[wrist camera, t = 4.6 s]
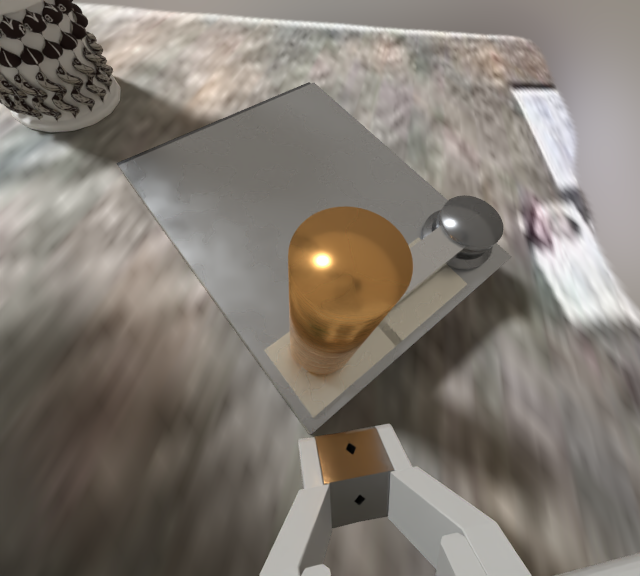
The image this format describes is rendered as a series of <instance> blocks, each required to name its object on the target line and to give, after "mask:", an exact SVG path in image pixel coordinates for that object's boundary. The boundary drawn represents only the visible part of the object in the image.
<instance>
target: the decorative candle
mask: <svg viewBox="0 0 640 576" xmlns="http://www.w3.org/2000/svg"><path fill="white" fill-rule="evenodd" d="M72 1H73V0H0V103H1V104H4V105H5V106H6V107H7V108H8V109H10V111H11V113H12V116H13V117H14V118H15V119H16V120H17V121H19V122H20V123H22V124H24V125H25V126H27V127H28V128H30V129H34V130H40V131H45V132H50V133H53V132H67V131H75V130H78V129H81V128H85V127H88V126H91V125H94V124H96V123H98V122H99V121H101V120H102V119H104V118H105V117H107V116H108V115H110V114H111V113H112V112H113V110H114V109H115V107H116V106H117V105H118V103H119V102H120V93H121V88H120V86H119V84H118V83H117V81H116V80H115V78H114V77H113V75H112V72H113V69H112V67H110V66H108V65H106V62H107V60H106V58H105V57H104V56H102V55H101V54H102V52H103V49H102V47H101V45H99V44H97V43H96V41H97V40H96V37H95V36H94V35H93V34H91V33H89V32H87V31H86V30H85V27H86V26H87V25H88V20H87V18H86V17H85V16H84V15H83V14H82V11H81V9H80V8H79V7H78V6H77V5H76V4H73V3H72Z"/></svg>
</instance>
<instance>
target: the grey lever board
mask: <svg viewBox="0 0 640 576" xmlns="http://www.w3.org/2000/svg"><path fill="white" fill-rule="evenodd" d="M117 165H118V166H119V168H120V169H121V171H122V172H123V174H124V175H125V177H126V178H127V180H128V181H129V183H130V184H131V186H132V187H133V189H134V190H135V192H136V193H137V194H138V196H139V197H140V199H141V200H142V202H143V203H144V204H145V206H146V207H147V209H148V210H149V211H150V213H151V214H152V216H153V217H154V218H155V220H156V221H157V223H158V224H159V225H160V227H161V228H162V230H163V231H164V232H165V234H166V235H167V237H168V238H169V239H170V241H171V242H172V244H173V245H174V246H175V248H176V249H177V251H178V252H179V253H180V255H181V256H182V258H183V259H184V260H185V262H186V263H187V265H188V266H189V267H190V269H191V270H192V272H193V273H194V274H195V276H196V277H197V279H198V280H199V281H200V283H201V284H202V286H203V287H204V288H205V290H206V291H207V293H208V294H209V295H210V297H211V298H212V300H213V301H214V302H215V304H216V305H217V307H218V308H219V309H220V311H221V312H222V314H223V315H224V316H225V318H226V319H227V321H228V322H229V323H230V325H231V326H232V328H233V329H234V330H235V332H236V333H237V335H238V336H239V337H240V339H241V340H242V342H243V343H244V344H245V346H246V347H247V348H248V350H249V351H250V353H251V354H252V355H253V357H254V358H255V360H256V361H257V362H258V364H259V365H260V367H261V368H262V369H263V371H264V372H265V374H266V375H267V376H268V378H269V379H270V381H271V382H272V383H273V385H274V386H275V388H276V389H277V390H278V392H279V393H280V395H281V396H282V397H283V399H284V400H285V402H286V403H287V404H288V406H289V407H290V409H291V410H292V411H293V413H294V414H295V416H296V417H297V418H298V420H299V421H300V423H301V424H302V425H303V427H304V428H305V430H306V431H307V432H308V434H312V433H313V432H315V431H316V430H317V429H318V428H319V427H320V426H321V425H322V424H324V423H325V422H326V421H327V420H328V419H329V418H330V417H332V416H333V415H334V414H335V413H336V412H337V411H338V410H339V409H341V408H342V407H343V406H344V405H345V404H346V403H347V402H348V401H350V400H351V399H352V398H353V397H354V396H355V395H356V394H357V393H359V392H360V391H361V390H362V389H363V388H364V387H365V386H367V385H368V384H369V383H370V382H371V381H372V380H373V379H374V378H376V377H377V376H378V375H379V374H380V373H381V372H382V371H383V370H385V369H386V368H387V367H388V366H389V365H390V364H391V363H392V362H394V361H395V360H396V359H397V358H398V357H399V356H400V355H401V354H403V353H404V352H405V351H406V350H407V349H408V348H409V347H411V346H412V345H413V344H414V343H415V342H416V341H417V340H418V339H420V338H421V337H422V336H423V335H424V334H425V333H426V332H427V331H429V330H430V329H431V328H432V327H433V326H434V325H435V324H436V323H438V322H439V321H440V320H441V319H442V318H443V317H444V316H445V315H447V314H448V313H449V312H450V311H451V310H452V309H453V308H455V307H456V306H457V305H458V304H459V303H460V302H461V301H462V300H464V299H465V298H466V297H467V296H468V295H469V294H470V293H471V292H473V291H474V290H475V289H476V288H477V287H478V286H479V285H480V284H482V283H483V282H484V281H485V280H486V279H487V278H488V277H489V276H491V275H492V274H493V273H494V272H495V271H496V270H497V269H499V268H500V267H501V266H502V265H503V264H504V263H505V262H506V261H508V260H509V259H510V258H511V256H510V255H509V254H508V253H507V252H506V251H505V250H503V249H502V248H501V247H500V246H499V245H498V244H497V243H495V244H494V245H493V246H492V247H491V248H490V249H489V250H488V251H487V252H485V253H484V254H483V255H482V256H480V257H478V258H476V259H472V260H463V259H458V258H454V259H452V260H451V261H450V262H449V263H447V264H446V265H445V266H444V267H442V268H441V269H440V270H439V271H437V272H436V273H435V274H434V275H432V276H431V277H430V278H429V279H427V280H426V281H425V282H424V283H422V284H421V285H420V286H419V287H418V288H416V289H415V290H414V291H413V292H411V293H410V294H409V295H408V296H406V297H405V298H404V299H403V300H401V301H400V302H399V303H398V304H396V305H395V306H394V307H393V308H392V309H391V310H390V312H389V313H388V314H387V315H386V316H385V318H384V319H383V320H382V321H381V322H380V324H379V325H378V326H377V327H376V328H375V330H374V331H373V332H372V333H371V334H370V336H369V337H368V338H367V339H366V340H365V342H364V343H363V344H362V345H361V346H360V348H359V349H358V350H357V351H356V352H355V354H354V355H353V356H352V357H351V358H350V360H349V361H348V362H347V363H346V364H345V365H344V366H343V367H342V368H341V369H339V370H337V371H335V372H333V373H329V374H316V373H312V372H310V371H308V370H306V369H304V368H303V367H302V366H300V365H299V364H298V362H297V361H296V360H295V358H294V356H293V354H292V352H291V347H290V322H289V278H288V250H289V245H290V241H291V239H292V237H293V235H294V233H295V231H296V230H297V228H298V227H299V226H300V225H301V224H302V223H303V222H304V221H305V220H306V219H307V218H309V217H310V216H312V215H313V214H315V213H317V212H319V211H322V210H325V209H329V208H333V207H345V206H348V207H357V208H362V209H366V210H369V211H371V212H374V213H376V214H378V215H380V216H382V217H384V218H385V219H386V220H388V221H389V222H390V223H392V224H393V225H394V226H395V227H396V228H397V229H398V230H399V231H400V232H401V234H402V235H403V237H404V238H405V240H406V242H407V243H408V246H409V248H411V247H412V246H414V245H415V244H416V243H418V242H419V241H421V240H422V239H423V238H425V237H426V236H427V235H429V234H430V233H431V232H432V224H433V221H434V220H435V218H436V217H437V215H438V214H439V212H440V211H441V209H442V208H443V206H444V205H445V204H446V202H447V201H448V200H447V199H446V198H444V197H443V196H442V195H441V194H440V193H439V192H438V191H436V190H435V189H434V188H433V187H432V186H431V185H430V184H429V183H427V182H426V181H425V180H424V179H423V178H422V177H421V176H419V175H418V174H417V173H416V172H415V171H414V170H413V169H411V168H410V167H409V166H408V165H407V164H406V163H405V162H404V161H402V160H401V159H400V158H399V157H398V156H397V155H396V154H394V153H393V152H392V151H391V150H390V149H389V148H388V147H387V146H385V145H384V144H383V143H382V142H381V141H380V140H379V139H377V138H376V137H375V136H374V135H373V134H372V133H371V132H369V131H368V130H367V129H366V128H365V127H364V126H363V125H362V124H360V123H359V122H358V121H357V120H356V119H355V118H354V117H352V116H351V115H350V114H349V113H348V112H347V111H346V110H345V109H343V108H342V107H341V106H340V105H339V104H338V103H337V102H335V101H334V100H333V99H332V98H331V97H330V96H329V95H327V94H326V93H325V92H324V91H323V90H322V89H321V88H320V87H318V86H317V85H316V84H315V83H312V84H311V83H306V84H304V85H301V86H299V87H297V88H294V89H292V90H290V91H287V92H285V93H282V94H280V95H278V96H275V97H273V98H271V99H268V100H266V101H263V102H261V103H259V104H256V105H254V106H252V107H249V108H247V109H244V110H242V111H240V112H237V113H235V114H233V115H230V116H228V117H225V118H223V119H221V120H218V121H216V122H214V123H211V124H209V125H206V126H204V127H202V128H199V129H197V130H195V131H192V132H190V133H187V134H185V135H183V136H180V137H178V138H176V139H173V140H171V141H168V142H166V143H164V144H161V145H159V146H157V147H154V148H152V149H149V150H147V151H145V152H142V153H140V154H138V155H135V156H133V157H130V158H128V159H126V160H123V161H121V162H119V163H117Z"/></svg>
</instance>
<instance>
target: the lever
mask: <svg viewBox="0 0 640 576" xmlns="http://www.w3.org/2000/svg"><path fill="white" fill-rule="evenodd" d="M502 234H503V223H502V220H501V217H500V216H499V214H498V213H497V211H496V210H495V209H494V208H493V207H492V206H491V205H489V204H488V203H487V202H485V201H483V200H481V199H479V198H476V197H472V196H457V197H454V198H452V199H450V200H449V201H447V202H446V204H445V205H444V206H443V208H442V209H441V211H440V212H439V214H438V215H437V217H436V218H435V220H434V221H433V224H432V232H431V233H430V234H429V235H427V236H426V237H425V238H423V239H422V240H421V241H419V242H418V243H416V244H415V245H414V246H412V247H411V248H409V246H408V243H407V242H406V240H405V238H404V237H403V235H402V234H401V232H400V231H399V230H398V229H397V228H396V227H395V226H394V225H393V224H392V223H390V222H389V221H388V220H386V219H385V218H384V217H382V216H380V215H378V214H376V213H374V212H371V211H369V210H366V209H362V208H357V207H348V206H345V207H333V208H329V209H325V210H322V211H319V212H317V213H315V214H313V215H312V216H310V217H309V218H307V219H306V220H305V221H304V222H303V223H302V224H301V225H300V226H299V227H298V228H297V230H296V231H295V233H294V235H293V237H292V239H291V241H290V245H289V250H288V278H289V322H290V347H291V352H292V354H293V356H294V358H295V360H296V361H297V362H298V364H299V365H300V366H302V367H303V368H304V369H306V370H308V371H310V372H312V373H316V374H329V373H333V372H335V371H337V370H339V369H341V368H342V367H343V366H344V365H345V364H346V363H347V362H348V361H349V360H350V358H351V357H352V356H353V355H354V354H355V352H356V351H357V350H358V349H359V348H360V346H361V345H362V344H363V343H364V342H365V340H366V339H367V338H368V337H369V336H370V334H371V333H372V332H373V331H374V330H375V328H376V327H377V326H378V325H379V324H380V322H381V321H382V320H383V319H384V318H385V316H386V315H387V314H388V313H389V312H390V310H391V309H392V308H393V307H394V306H395V305H396V304H398V303H399V302H400V301H401V300H403V299H404V298H405V297H406V296H408V295H409V294H410V293H411V292H413V291H414V290H415V289H416V288H418V287H419V286H420V285H421V284H422V283H424V282H425V281H426V280H427V279H429V278H430V277H431V276H432V275H434V274H435V273H436V272H437V271H439V270H440V269H441V268H442V267H444V266H445V265H446V264H447V263H449V262H450V261H451V260H452V259H454V258H458V259H463V260H472V259H476V258H478V257H480V256H482V255H483V254H484V253H485V252H487V251H488V250H489V249H490V248H491V247H492V246H493V245H494V244H495V243H496V242H498V240H499V239H500V238H501V236H502Z"/></svg>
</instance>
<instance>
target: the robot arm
mask: <svg viewBox="0 0 640 576" xmlns="http://www.w3.org/2000/svg"><path fill="white" fill-rule="evenodd" d="M298 443H299V454H300V465H301V475H302V485H303V489H301V490H299V492H298V494H297V496H296V498H295V500H294V502H293V505H292V507H291V509H290V511H289V513H288V515H287V517H286V519H285V522H284V524H283V526H282V528H281V530H280V532H279V534H278V537H277V539H276V541H275V543H274V545H273V547H272V549H271V551H270V554H269V556H268V558H267V560H266V562H265V564H264V566H263V569H262V571H261V573H260V575H259V576H331V574H330V569H329V568H328V567H326V566H325V565H323V561H324V557H325V554H326V550H327V547H328V543H329V540H330V536H331V533H332V528H336V527H340V526H344V525H348V524H352V523H356V522H360V521H366V520H371V519H376V518H382V517H387V516H388V519H389V520H390V521H391V522H392V523H393V524H394V525H395V526H396V527H397V528H398V529H399V530H400V531H401V532H402V533H403V534H404V535H405V537H406V538H407V539H408V540H409V541H410V542H411V543H412V544H413V545H414V546H415V547H416V548H417V549H418V550H419V551H420V552H421V554H422V555H423V556H424V557H425V558H426V559H427V560H428V561H429V562H430V563H431V564H432V565H433V566H434V567H435V568H436V576H532V575H531V574H530V572H529V571H528V569H527V568H526V566H525V565H524V563H523V562H522V560H521V559H520V557H519V556H518V554H517V553H516V551H515V550H514V548H513V547H512V545H511V544H510V542H509V541H508V539H507V538H506V536H505V535H504V533H503V532H502V530H501V529H500V527H499V526H498V524H497V523H496V522H495V521H494V520H492V519H491V518H490V517H488V516H487V515H485V514H484V513H483V512H481V511H480V510H478V509H477V508H476V507H474V506H473V505H471V504H470V503H468V502H467V501H466V500H464V499H463V498H461V497H460V496H459V495H457V494H456V493H454V492H453V491H452V490H450V489H449V488H447V487H446V486H444V485H443V484H442V483H440V482H439V481H437V480H436V479H435V478H433V477H432V476H430V475H429V474H428V473H426V472H425V471H423V470H422V469H420V468H419V467H413V466H412V464H411V462H410V460H409V458H408V456H407V454H406V453H405V451H404V449H403V447H402V445H401V443H400V441H399V439H398V437H397V435H396V433H395V431H394V429H393V427H392V426H391V425H390V424H384V425H379V426H374V427H373V426H372V427H367V428H362V429H356V430H351V431H346V432H342V433H335V434H328V435H321V436H315V437H310V438H303V439H298ZM554 576H640V553H636V554H633V555H629V556H625V557H621V558H618V559H614V560H610V561H607V562H603V563H599V564H595V565H592V566H588V567H584V568H580V569H577V570H573V571H569V572H565V573H562V574H558V575H554Z"/></svg>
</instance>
